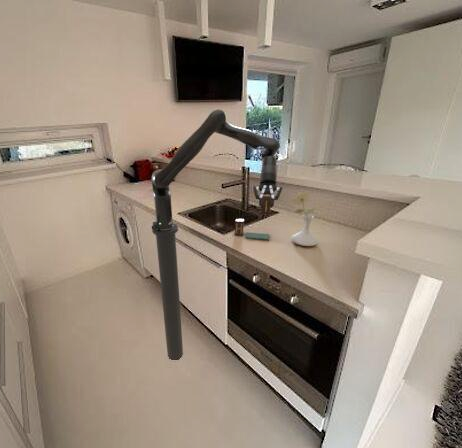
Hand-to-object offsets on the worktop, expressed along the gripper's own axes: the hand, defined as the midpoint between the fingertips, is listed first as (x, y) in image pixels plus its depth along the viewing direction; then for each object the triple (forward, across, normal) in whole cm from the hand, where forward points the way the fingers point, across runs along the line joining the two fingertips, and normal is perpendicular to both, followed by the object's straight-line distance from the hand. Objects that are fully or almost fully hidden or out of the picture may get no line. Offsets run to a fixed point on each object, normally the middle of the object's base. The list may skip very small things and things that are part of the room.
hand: (266, 206), depth 115 cm
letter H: (+9, -12, +15) cm, 22 cm away
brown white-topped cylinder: (+2, 0, +4) cm, 4 cm away
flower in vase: (+12, +18, +13) cm, 25 cm away
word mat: (+10, -3, +14) cm, 18 cm away
